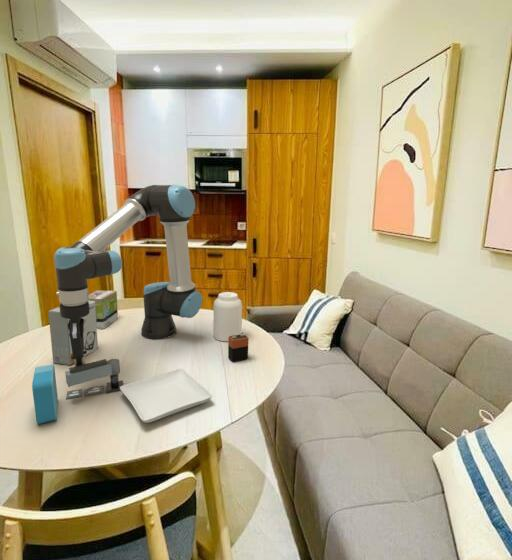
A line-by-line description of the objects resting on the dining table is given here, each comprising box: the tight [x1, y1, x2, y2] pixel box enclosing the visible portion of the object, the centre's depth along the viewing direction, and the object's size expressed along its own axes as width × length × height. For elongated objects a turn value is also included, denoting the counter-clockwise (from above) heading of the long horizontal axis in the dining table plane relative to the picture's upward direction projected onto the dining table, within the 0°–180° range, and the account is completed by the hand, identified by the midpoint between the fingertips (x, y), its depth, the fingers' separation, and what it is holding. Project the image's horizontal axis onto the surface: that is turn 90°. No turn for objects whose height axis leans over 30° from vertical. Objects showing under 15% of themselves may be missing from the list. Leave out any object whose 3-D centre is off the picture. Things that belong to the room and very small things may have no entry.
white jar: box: [212, 291, 243, 342], centre depth 147 cm, size 12×12×20 cm
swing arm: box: [64, 358, 121, 388], centre depth 101 cm, size 15×4×5 cm, turn 129°
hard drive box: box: [47, 301, 99, 366], centre depth 125 cm, size 16×8×20 cm, turn 168°
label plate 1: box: [65, 388, 83, 400], centre depth 102 cm, size 4×4×1 cm
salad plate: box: [120, 368, 213, 423], centre depth 101 cm, size 21×21×3 cm
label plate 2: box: [84, 385, 104, 397], centre depth 104 cm, size 5×4×1 cm
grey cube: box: [105, 374, 124, 394], centre depth 106 cm, size 5×5×5 cm
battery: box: [227, 332, 250, 363], centre depth 128 cm, size 4×7×10 cm, turn 118°
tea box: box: [88, 289, 119, 330], centre depth 159 cm, size 15×10×15 cm
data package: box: [31, 363, 59, 425], centre depth 92 cm, size 12×4×12 cm, turn 29°
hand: (80, 375), depth 102 cm, fingers closed
